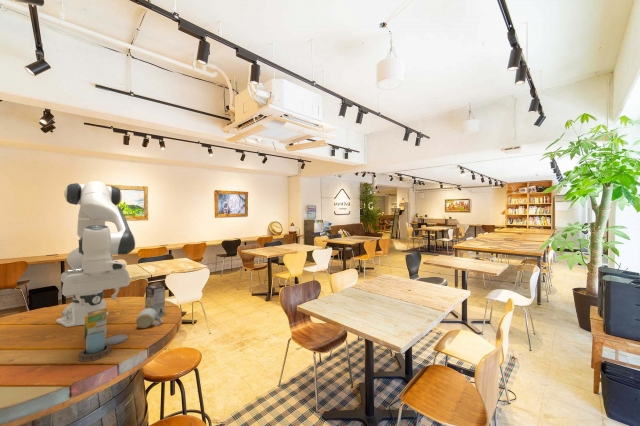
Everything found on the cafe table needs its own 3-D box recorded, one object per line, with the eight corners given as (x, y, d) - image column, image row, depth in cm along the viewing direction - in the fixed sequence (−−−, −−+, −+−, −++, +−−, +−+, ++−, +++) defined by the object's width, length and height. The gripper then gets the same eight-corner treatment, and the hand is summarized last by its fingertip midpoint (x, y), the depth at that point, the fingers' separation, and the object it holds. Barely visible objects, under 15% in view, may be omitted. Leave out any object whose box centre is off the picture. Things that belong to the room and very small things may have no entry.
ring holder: (73, 359, 99) (73, 353, 99) (100, 347, 108) (100, 342, 108) (89, 363, 96) (89, 357, 96) (116, 351, 105) (116, 346, 105)
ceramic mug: (134, 330, 125) (135, 313, 126) (139, 324, 133) (140, 308, 133) (160, 327, 129) (161, 311, 129) (163, 321, 137) (164, 306, 137)
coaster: (96, 343, 112) (96, 342, 112) (118, 335, 120) (118, 333, 120) (110, 347, 109) (110, 345, 109) (132, 337, 117) (132, 336, 117)
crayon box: (103, 331, 124) (104, 306, 124) (106, 333, 122) (107, 307, 123) (84, 337, 117) (84, 311, 118) (87, 339, 116) (87, 312, 116)
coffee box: (144, 316, 144) (144, 286, 145) (156, 312, 150) (157, 284, 150) (152, 319, 139) (153, 288, 140) (165, 315, 145) (165, 286, 145)
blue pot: (105, 355, 102) (105, 334, 102) (85, 360, 98) (86, 338, 98) (104, 346, 109) (104, 327, 109) (85, 351, 105) (86, 330, 105)
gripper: (59, 272, 94) (60, 311, 94) (130, 263, 108) (130, 297, 107) (61, 269, 99) (61, 307, 98) (128, 262, 112) (129, 294, 112)
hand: (98, 302), depth 103 cm, fingers open, 8 cm apart
